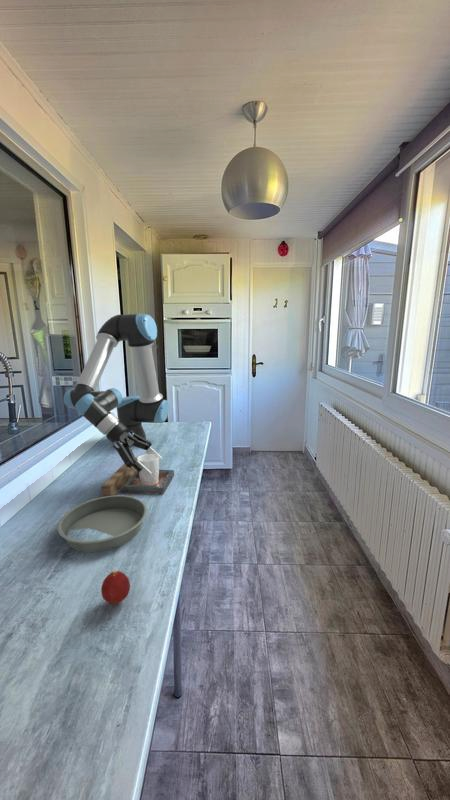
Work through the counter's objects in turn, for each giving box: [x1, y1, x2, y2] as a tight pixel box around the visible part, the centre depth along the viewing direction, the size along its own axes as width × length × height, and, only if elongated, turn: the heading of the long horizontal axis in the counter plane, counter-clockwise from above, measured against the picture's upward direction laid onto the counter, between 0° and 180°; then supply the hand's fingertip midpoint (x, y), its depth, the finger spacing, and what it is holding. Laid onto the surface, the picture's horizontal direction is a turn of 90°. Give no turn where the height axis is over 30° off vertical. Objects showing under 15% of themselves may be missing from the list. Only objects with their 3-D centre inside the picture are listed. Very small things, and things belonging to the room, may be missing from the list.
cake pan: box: [57, 494, 148, 553], centre depth 99 cm, size 25×25×4 cm
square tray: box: [122, 469, 175, 495], centre depth 127 cm, size 15×15×2 cm
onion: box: [100, 570, 131, 605], centre depth 72 cm, size 6×6×8 cm
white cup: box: [136, 453, 160, 486], centre depth 126 cm, size 8×8×10 cm
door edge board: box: [101, 457, 138, 497], centre depth 128 cm, size 26×3×5 cm, turn 174°
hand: (154, 467), depth 125 cm, fingers open, 13 cm apart
